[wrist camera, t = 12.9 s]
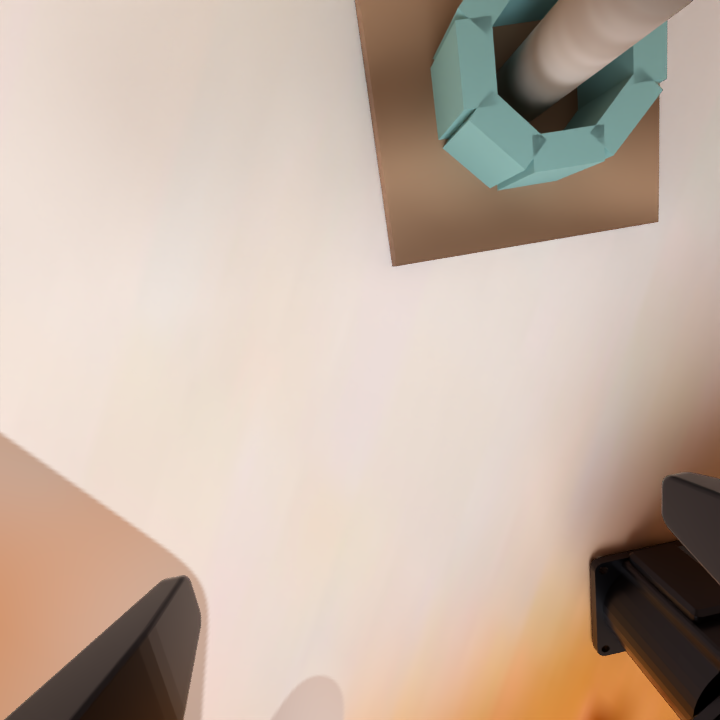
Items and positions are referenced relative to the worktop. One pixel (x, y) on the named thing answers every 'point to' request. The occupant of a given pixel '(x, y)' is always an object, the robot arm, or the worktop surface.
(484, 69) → the ring
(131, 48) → the worktop surface
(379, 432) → the worktop surface
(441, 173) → the post stand
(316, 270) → the worktop surface
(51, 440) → the worktop surface
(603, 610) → the robot arm
